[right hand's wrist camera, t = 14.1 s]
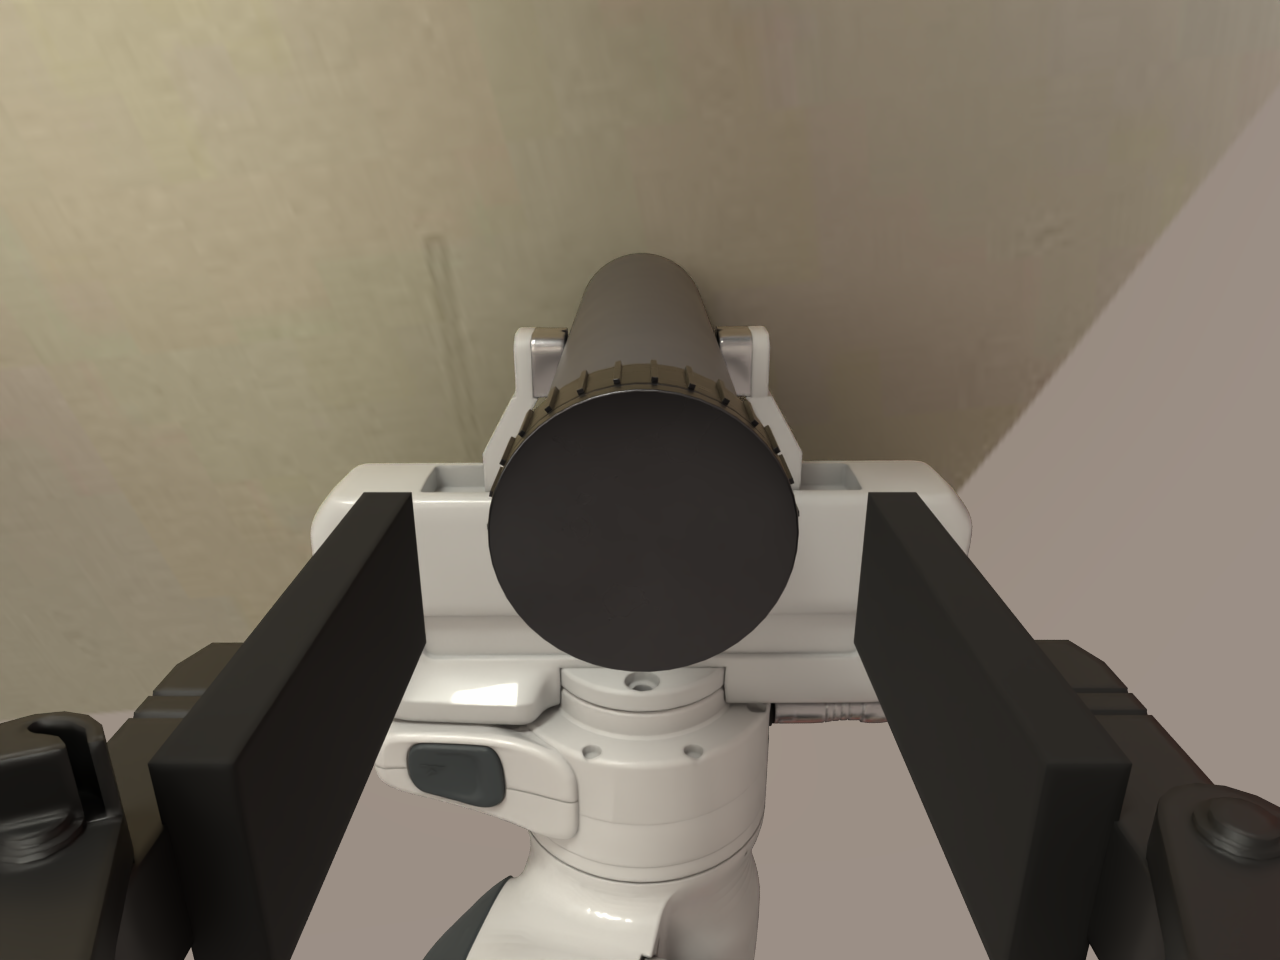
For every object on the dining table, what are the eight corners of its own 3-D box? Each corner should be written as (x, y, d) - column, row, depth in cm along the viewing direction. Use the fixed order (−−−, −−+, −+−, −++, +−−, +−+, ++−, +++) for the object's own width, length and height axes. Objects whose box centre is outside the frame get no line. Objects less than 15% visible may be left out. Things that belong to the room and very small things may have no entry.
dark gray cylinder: (704, 373, 33) (776, 639, 16) (584, 378, 34) (522, 649, 16) (701, 250, 32) (778, 393, 14) (575, 256, 32) (495, 406, 14)
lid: (785, 619, 17) (801, 670, 16) (513, 631, 17) (500, 682, 16) (789, 351, 15) (807, 377, 14) (482, 365, 15) (464, 393, 14)
